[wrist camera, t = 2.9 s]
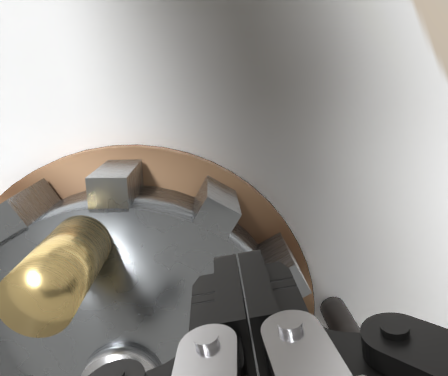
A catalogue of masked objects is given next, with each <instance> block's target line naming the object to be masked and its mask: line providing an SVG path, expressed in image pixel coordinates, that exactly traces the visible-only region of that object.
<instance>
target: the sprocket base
mask: <svg viewBox="0 0 448 376" xmlns="http://www.w3.org/2000/svg"><path fill="white" fill-rule="evenodd" d="M127 159H142V168H143V183H144V185H145V186H156V187H161V188H165V189H170V190H175V191H178V192H181V193H184V194H187V195H190V196H193V197H195V196H196V194H197V193H198V191H199V189H200V187H201V186H202V184H203V182H204V180H205V179H206V177H207V175H208V176H210V177H212V178H214V179H215V180H217V181H219V182H221V183H223V184H225V185H227V186H228V187H230V188H232V189H234V190H236V194H237V198H238V202H239V206H240V210H241V214H242V215H241V217H240V219H239V220H238V222H237V223H238V224H239V225H240V226H241V227H242V228H244V229H245V230H246V231H247V232H248V233H249V234H250V236H251V237H252V238H253V239H254V240H255V241H256V243H257V244H260V243H261V242H263V241H265V240H267V239H269V238H271V237H272V236H274V235H276V234H278V233H281V235H282V237H283V238H284V240H285V242H286V244H287V245H288V247H289V249H290V250H291V252H292V254H293V255H294V257H295V259H296V261H297V263H298V265H299V267H300V269H301V272H302V274H303V276H304V278H305V280H306V282H307V284H308V286H309V288H310V290H311V292H312V293H311V294H309V295H307V296H305V297H304V298H303V300H304V302H305V304H306V307H307V309H308V311H309V313H311V314H312V315H314V296H313V286H312V281H311V277H310V274H309V270H308V266H307V263H306V260H305V258H304V256H303V253H302V251H301V249H300V246H299V244H298V242H297V240H296V239H295V237H294V235H293V234H292V232H291V230H290V229H289V227H288V225H287V224H286V222H285V220H284V219H283V218H282V216H281V215H280V214H279V213H278V212H277V210H276V209H275V208H274V207H273V205H272V204H271V203H270V202H269V201H268V200H267V199H266V198H265V197H264V196H263V195H262V194H261V193H259V192H258V191H257V190H256V189H255V188H254V187H253V186H252V185H250V184H249V183H247V182H246V181H244V180H243V179H242V178H240V177H239V176H237V175H236V174H234V173H233V172H231V171H229V170H227V169H225V168H223V167H222V166H220V165H218V164H216V163H214V162H212V161H209V160H207V159H204V158H201V157H198V156H196V155H193V154H190V153H187V152H183V151H178V150H174V149H170V148H165V147H157V146H147V145H112V146H106V147H100V148H94V149H88V150H84V151H81V152H78V153H75V154H71V155H68V156H65V157H62V158H60V159H58V160H56V161H54V162H51V163H49V164H47V165H45V166H43V167H41V168H39V169H37V170H35V171H33V172H32V173H30V174H28V175H27V176H25V177H24V178H22V179H21V180H19V181H18V182H16V183H15V184H13V185H12V186H11V187H10V188H8V189H7V190H6V191H5V192H4V193H3V194H2V195H1V196H0V204H1V203H2V202H4V201H6V200H7V199H9V198H11V197H12V196H14V195H16V194H18V193H19V192H21V191H23V190H24V189H26V188H28V187H29V186H31V185H33V184H34V183H36V182H38V181H40V180H41V179H43V178H45V180H46V181H47V182H48V184H49V185H50V186H51V188H52V189H53V190H54V192H55V193H56V194H57V195H58V197H59V198H60V199H61V200H62V199H64V198H66V197H68V196H70V195H73V194H76V193H80V192H83V191H86V183H85V178H86V177H87V176H88V175H90V174H91V173H92V172H93V171H95V170H96V169H97V168H98V167H100V166H101V165H102V164H104V163H105V162H106V161H107V160H127ZM321 313H322V315H323V317H324V319H325V321H326V323H327V325H328V327H329V329H330V330H334V331H340V332H356V333H360V328H359V327H358V325H357V324H356V322H355V320H354V319H353V317H352V315H351V314H350V312H349V310H348V309H347V307H346V306H345V304H344V302H343V301H342V300H341V299H340V298H337V297H330V298H327V299H326V300H325V301H323V303H322V304H321Z"/></svg>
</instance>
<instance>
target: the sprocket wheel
mask: <svg viewBox="0 0 448 376" xmlns="http://www.w3.org/2000/svg"><path fill="white" fill-rule="evenodd" d="M85 183H86V191H83V192H80V193H76V194H73V195H70V196H68V197H66V198H64V199H62V200H61V199H60V198H59V197H58V195H57V194H56V193H55V192H54V190H53V189H52V188H51V186H50V185H49V184H48V182H47V181H46V180H45V178H43V179H41V180H40V181H38V182H36V183H34V184H33V185H31V186H29V187H28V188H26V189H24V190H23V191H21V192H19V193H18V194H16V195H14V196H12V197H11V198H9V199H7V200H6V201H4V202H2V203H1V204H0V376H88V375H90V374H91V373H92V372H93V371H95V370H96V369H97V368H99V367H101V366H102V365H104V364H106V363H109V362H111V361H114V360H118V359H134V360H137V361H139V362H140V363H141V364H142V365H143V367H144V369H145V372H146V371H148V370H150V369H153V368H155V367H158V366H160V365H162V364H164V363H166V362H168V361H170V360H171V359H173V358H174V357H176V353H177V348H178V345H179V342H180V341H181V339H182V338H183V337H184V336H185V335H186V334H187V333H188V332H189V322H190V309H191V297H192V285H193V284H194V283H195V281H196V280H197V279H198V277H199V276H202V275H207V274H213V273H214V258H215V257H221V256H226V255H232V254H236V257H237V263H238V268H239V274H240V279H241V284H242V290H243V295H244V301H245V306H246V312H247V318H248V324H249V330H250V336H251V341H252V347H253V353H254V359H255V365H256V371H257V376H260V375H259V370H258V364H257V359H256V353H255V348H254V342H253V337H252V331H251V326H250V321H249V315H248V309H247V303H246V298H245V292H244V286H243V280H242V275H241V269H240V263H239V258H238V253H243V252H248V251H254V250H259V249H260V251H261V254H262V258H263V261H264V264H268V263H273V262H281V263H282V264H284V265H286V266H287V267H289V268H290V271H291V273H292V275H293V278H294V280H295V282H296V284H297V286H298V289H299V291H300V293H301V295H302V298H304V297H305V296H307V295H309V294H311V293H312V292H311V290H310V288H309V286H308V284H307V282H306V280H305V278H304V276H303V274H302V272H301V269H300V267H299V265H298V263H297V261H296V259H295V257H294V255H293V254H292V252H291V250H290V249H289V247H288V245H287V244H286V242H285V240H284V238H283V237H282V235H281V233H278V234H276V235H274V236H272V237H271V238H269V239H267V240H265V241H263V242H261V243H260V244H257V243H256V241H255V240H254V239H253V238H252V237H251V236H250V234H249V233H248V232H247V231H246V230H245V229H244V228H242V227H241V226H240V225H239V224H238V223H237V222H238V220H239V219H240V217H241V215H242V214H241V210H240V206H239V202H238V198H237V194H236V190H234V189H232V188H230V187H228V186H227V185H225V184H223V183H221V182H219V181H217V180H215V179H214V178H212V177H210V176H208V175H207V177H206V179H205V180H204V182H203V184H202V186H201V187H200V189H199V191H198V193H197V194H196V196H195V197H193V196H190V195H187V194H184V193H181V192H178V191H175V190H170V189H165V188H161V187H156V186H145V185H144V183H143V168H142V159H127V160H107V161H106V162H105V163H104V164H102V165H101V166H100V167H98V168H97V169H96V170H95V171H93V172H92V173H91V174H90V175H88V176H87V177H86V178H85Z"/></svg>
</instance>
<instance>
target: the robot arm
mask: <svg viewBox="0 0 448 376" xmlns="http://www.w3.org/2000/svg"><path fill="white" fill-rule="evenodd" d="M238 258H239V263H240V269H241V275H242V280H243V286H244V292H245V298H246V303H247V309H248V315H249V321H250V326H251V331H252V337H253V342H254V348H255V353H256V359H257V364H258V370H259V375H260V376H448V329H446V328H443V327H440V326H437V325H435V324H432V323H429V322H426V321H423V320H420V319H417V318H414V317H412V316H408V315H405V314H400V313H380V314H376V315H373V316H371V317H369V318H367V319H366V320H365V321H364V322H363V323H362V325H361V328H360V333H356V332H340V331H334V330H330V329H327V328H325V327H323V326H322V324H321V323H320V321H319V320H318V318H316V317H315V316H314V315H312V314H311V313H309V311H308V309H307V307H306V304H305V302H304V300H303V298H302V295H301V293H300V291H299V289H298V286H297V284H296V282H295V280H294V278H293V275H292V273H291V271H290V268H289V267H287V266H286V265H284V264H282V263H281V262H273V263H268V264H264V261H263V258H262V254H261V251H260V249H259V250H254V251H248V252H243V253H238ZM88 376H257V371H256V365H255V359H254V353H253V347H252V341H251V336H250V330H249V324H248V318H247V312H246V306H245V301H244V295H243V290H242V284H241V279H240V274H239V268H238V263H237V257H236V254H232V255H226V256H221V257H215V258H214V273H213V274H207V275H202V276H199V277H198V279H197V280H196V281H195V283H194V284H193V285H192V297H191V309H190V322H189V332H188V333H187V334H186V335H185V336H184V337H183V338H182V339H181V341H180V342H179V345H178V348H177V353H176V357H174V358H173V359H171V360H170V361H168V362H166V363H164V364H162V365H160V366H158V367H155V368H153V369H150V370H148V371H146V372H145V369H144V367H143V365H142V364H141V363H140V362H139V361H137V360H134V359H118V360H114V361H111V362H109V363H106V364H104V365H102V366H101V367H99V368H97V369H96V370H95V371H93V372H92V373H91V374H90V375H88Z"/></svg>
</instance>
